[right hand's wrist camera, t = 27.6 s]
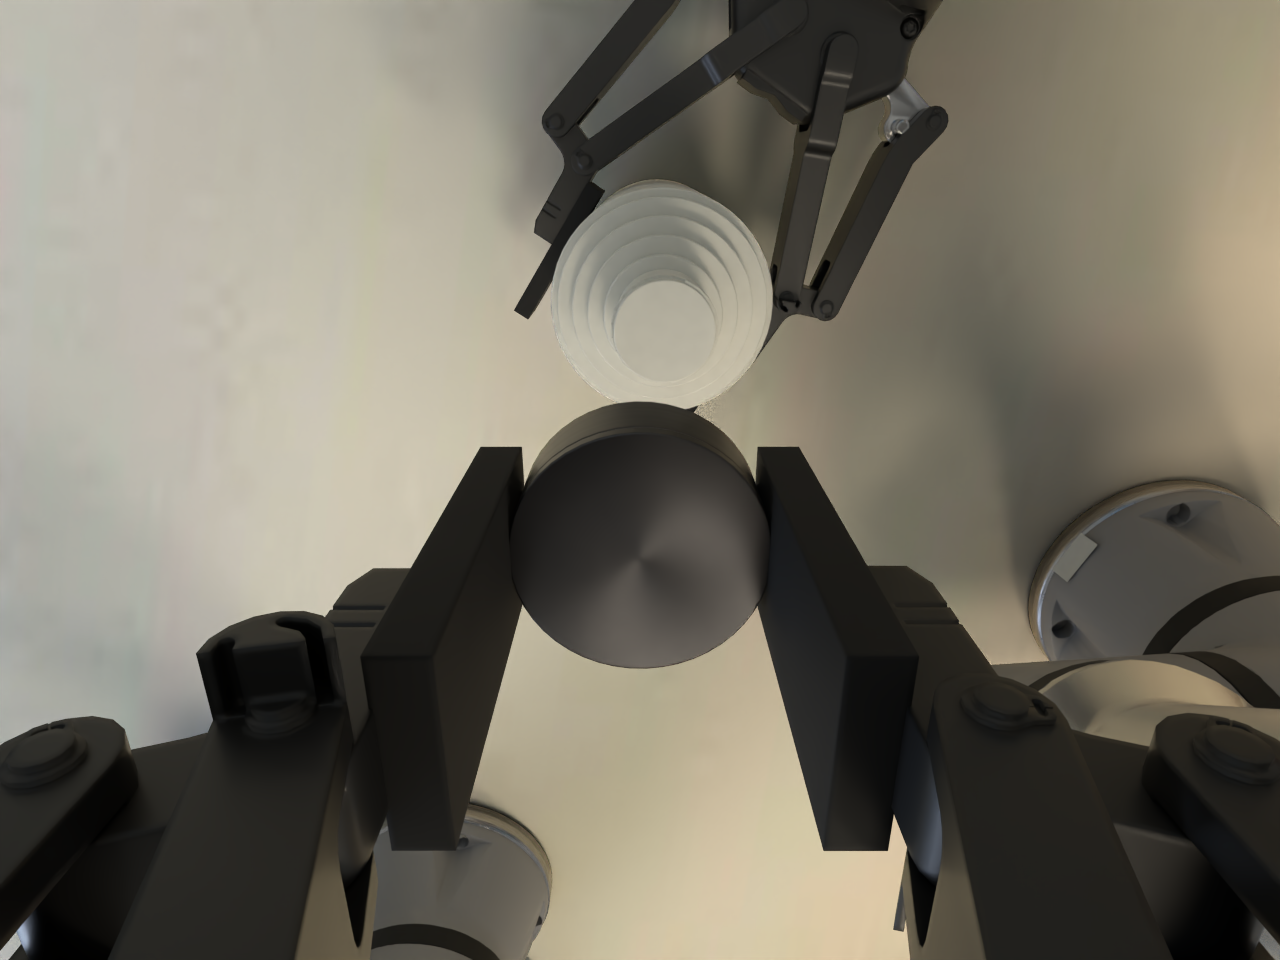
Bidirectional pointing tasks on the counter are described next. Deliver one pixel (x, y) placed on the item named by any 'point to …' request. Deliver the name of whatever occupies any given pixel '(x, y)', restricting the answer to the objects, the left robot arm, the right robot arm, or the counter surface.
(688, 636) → the cap
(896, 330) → the counter surface
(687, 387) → the bottle
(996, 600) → the counter surface
